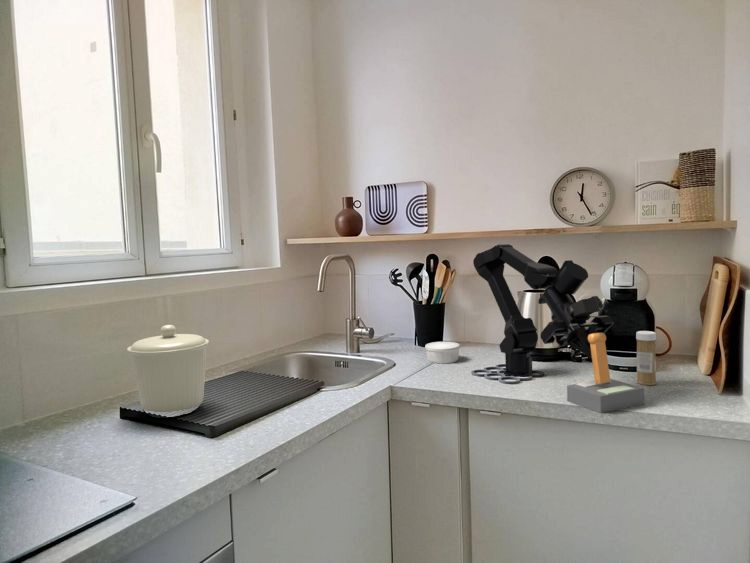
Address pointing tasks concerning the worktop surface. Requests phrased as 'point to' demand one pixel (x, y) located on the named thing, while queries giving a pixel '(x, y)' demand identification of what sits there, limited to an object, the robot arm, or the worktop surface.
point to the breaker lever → (599, 358)
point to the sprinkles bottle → (646, 357)
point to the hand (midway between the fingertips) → (596, 358)
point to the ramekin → (442, 352)
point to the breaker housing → (605, 395)
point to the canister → (169, 370)
